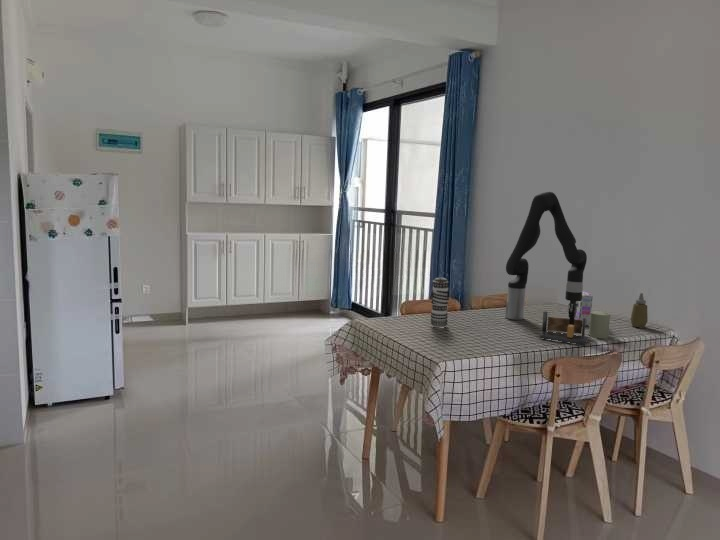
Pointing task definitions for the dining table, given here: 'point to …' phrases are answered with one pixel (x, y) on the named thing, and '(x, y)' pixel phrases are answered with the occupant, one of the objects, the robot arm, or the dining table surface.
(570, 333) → the fader
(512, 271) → the robot arm
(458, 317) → the dining table surface
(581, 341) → the console
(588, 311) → the candy box
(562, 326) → the door
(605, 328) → the can
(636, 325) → the squeeze bottle
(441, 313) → the decorative candle
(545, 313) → the frame
